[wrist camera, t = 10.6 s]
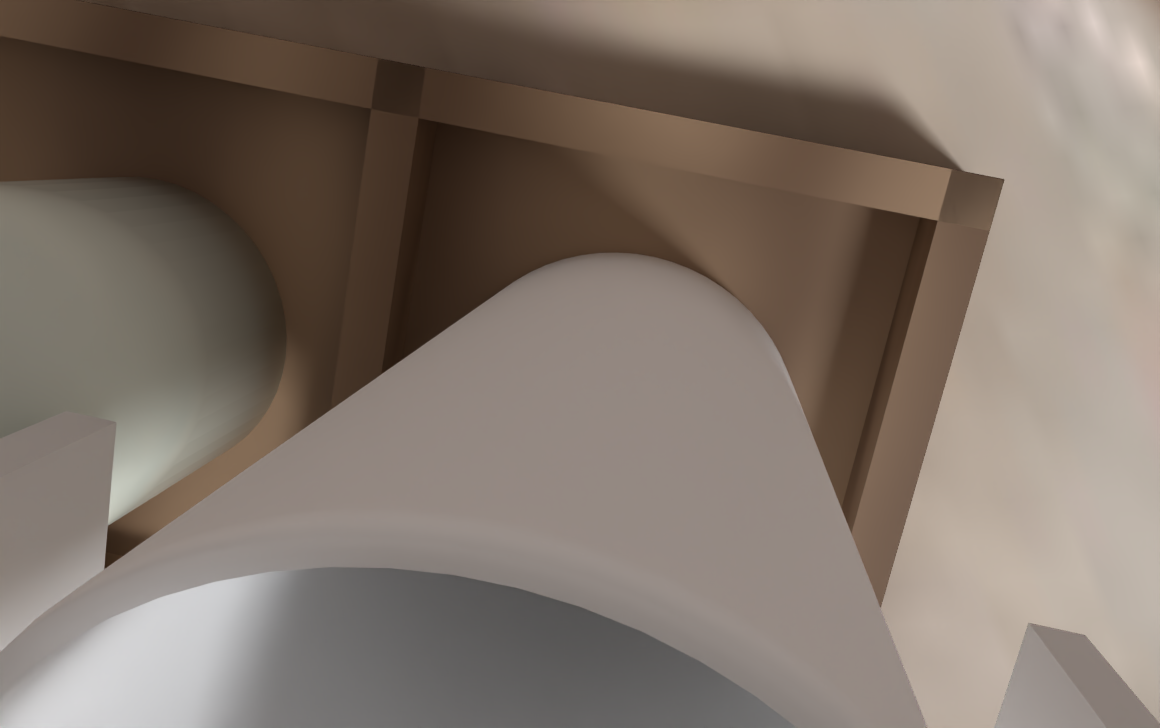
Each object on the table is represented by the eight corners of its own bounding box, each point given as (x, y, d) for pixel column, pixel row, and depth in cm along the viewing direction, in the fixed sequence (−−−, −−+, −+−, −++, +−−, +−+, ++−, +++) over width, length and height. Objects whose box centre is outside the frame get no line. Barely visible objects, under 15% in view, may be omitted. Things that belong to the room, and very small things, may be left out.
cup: (442, 587, 23) (-67, 1446, 8) (435, 247, 22) (-243, 493, 6) (787, 609, 22) (979, 1637, 7) (809, 257, 21) (1137, 576, 5)
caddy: (-75, 523, 26) (-155, 561, 24) (-58, -23, 23) (-148, -44, 20) (812, 735, 24) (824, 800, 22) (969, 176, 21) (1004, 179, 18)
